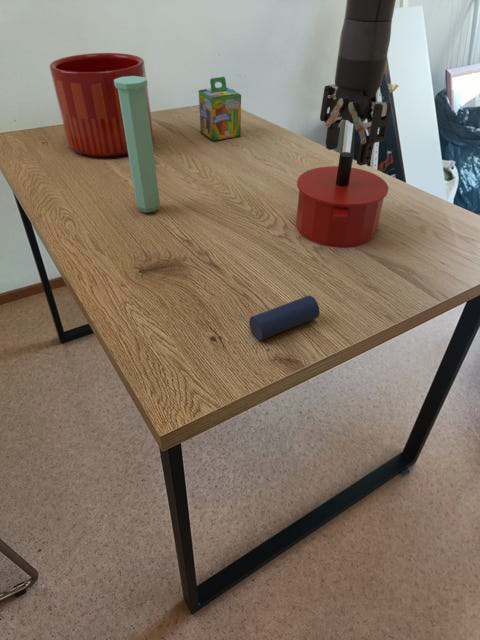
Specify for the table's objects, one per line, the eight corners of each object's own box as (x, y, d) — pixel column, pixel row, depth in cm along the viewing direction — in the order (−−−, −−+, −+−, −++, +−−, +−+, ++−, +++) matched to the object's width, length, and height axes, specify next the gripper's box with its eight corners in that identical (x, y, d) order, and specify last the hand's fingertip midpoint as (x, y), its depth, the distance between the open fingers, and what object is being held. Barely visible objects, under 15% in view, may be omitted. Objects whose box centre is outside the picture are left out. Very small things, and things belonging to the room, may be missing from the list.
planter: (135, 125, 138) (123, 49, 124) (168, 148, 123) (159, 65, 110) (59, 139, 128) (38, 58, 115) (84, 166, 113) (64, 77, 100)
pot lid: (384, 174, 90) (391, 141, 86) (390, 213, 78) (399, 176, 73) (300, 168, 92) (303, 135, 88) (292, 205, 80) (295, 169, 76)
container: (168, 210, 95) (153, 80, 79) (144, 219, 92) (124, 86, 76) (153, 201, 99) (135, 74, 82) (129, 209, 96) (106, 79, 79)
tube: (304, 309, 70) (306, 291, 68) (318, 322, 68) (320, 303, 66) (249, 331, 67) (249, 312, 64) (261, 345, 64) (262, 326, 62)
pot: (373, 206, 97) (381, 167, 92) (378, 258, 81) (388, 216, 76) (300, 200, 99) (304, 162, 94) (291, 250, 83) (295, 208, 78)
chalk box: (213, 142, 127) (211, 84, 117) (199, 132, 133) (196, 76, 123) (242, 136, 130) (242, 80, 120) (227, 127, 136) (226, 72, 126)
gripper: (414, 59, 67) (390, 165, 78) (351, 43, 77) (337, 140, 87) (376, 64, 64) (356, 174, 75) (315, 47, 74) (305, 147, 84)
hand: (346, 156), depth 81 cm, fingers open, 8 cm apart
